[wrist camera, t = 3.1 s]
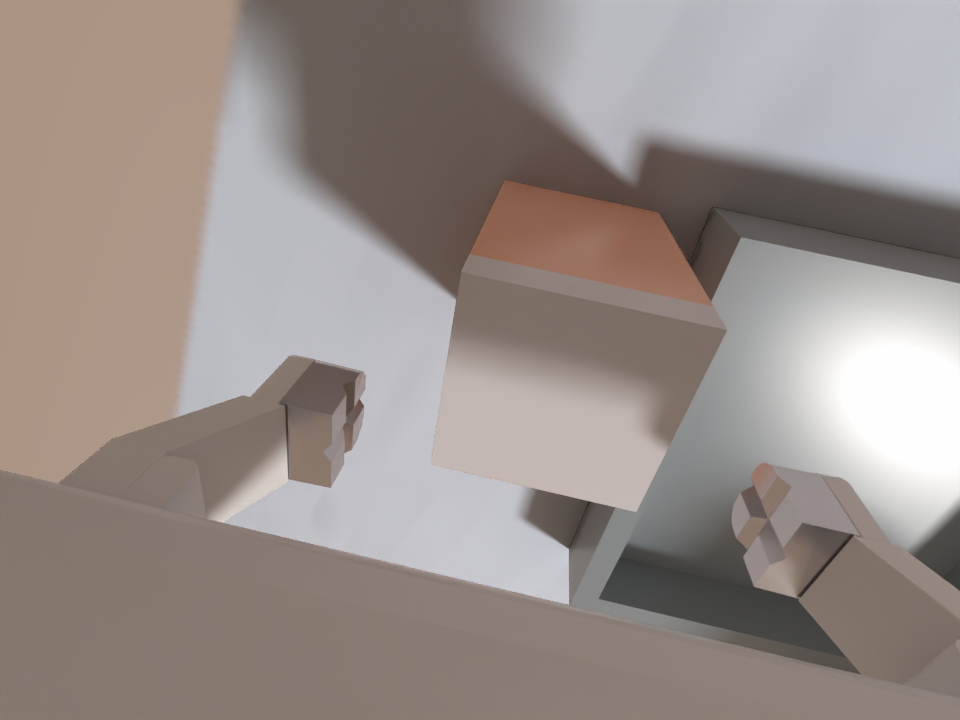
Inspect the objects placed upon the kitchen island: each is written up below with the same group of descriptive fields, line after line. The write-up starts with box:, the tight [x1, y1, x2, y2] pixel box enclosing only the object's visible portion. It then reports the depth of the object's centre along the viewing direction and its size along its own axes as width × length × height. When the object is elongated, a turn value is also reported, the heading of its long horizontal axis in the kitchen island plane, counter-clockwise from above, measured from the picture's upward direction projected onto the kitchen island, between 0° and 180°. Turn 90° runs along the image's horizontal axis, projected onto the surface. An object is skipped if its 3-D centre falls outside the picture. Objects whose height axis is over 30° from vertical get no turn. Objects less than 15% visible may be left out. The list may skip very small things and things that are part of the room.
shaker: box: [430, 180, 727, 512], centre depth 14 cm, size 5×5×8 cm
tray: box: [569, 207, 960, 675], centre depth 19 cm, size 17×16×3 cm
